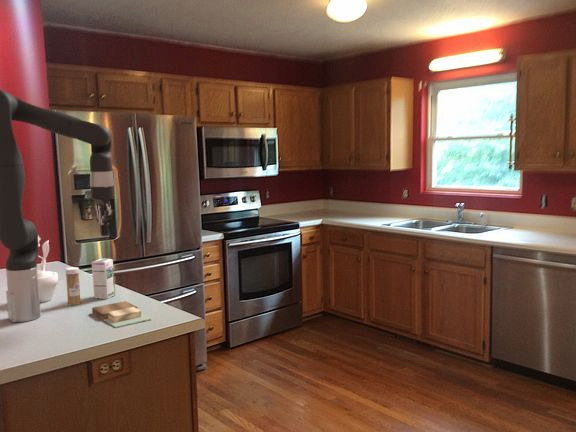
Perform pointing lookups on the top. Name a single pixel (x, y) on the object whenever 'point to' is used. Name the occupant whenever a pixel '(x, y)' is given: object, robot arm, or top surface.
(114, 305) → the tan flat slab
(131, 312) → the maple tile
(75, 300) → the sprinkles bottle
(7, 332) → the top surface
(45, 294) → the potted plant
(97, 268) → the syrup box
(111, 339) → the top surface
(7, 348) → the top surface
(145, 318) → the rubber mat
